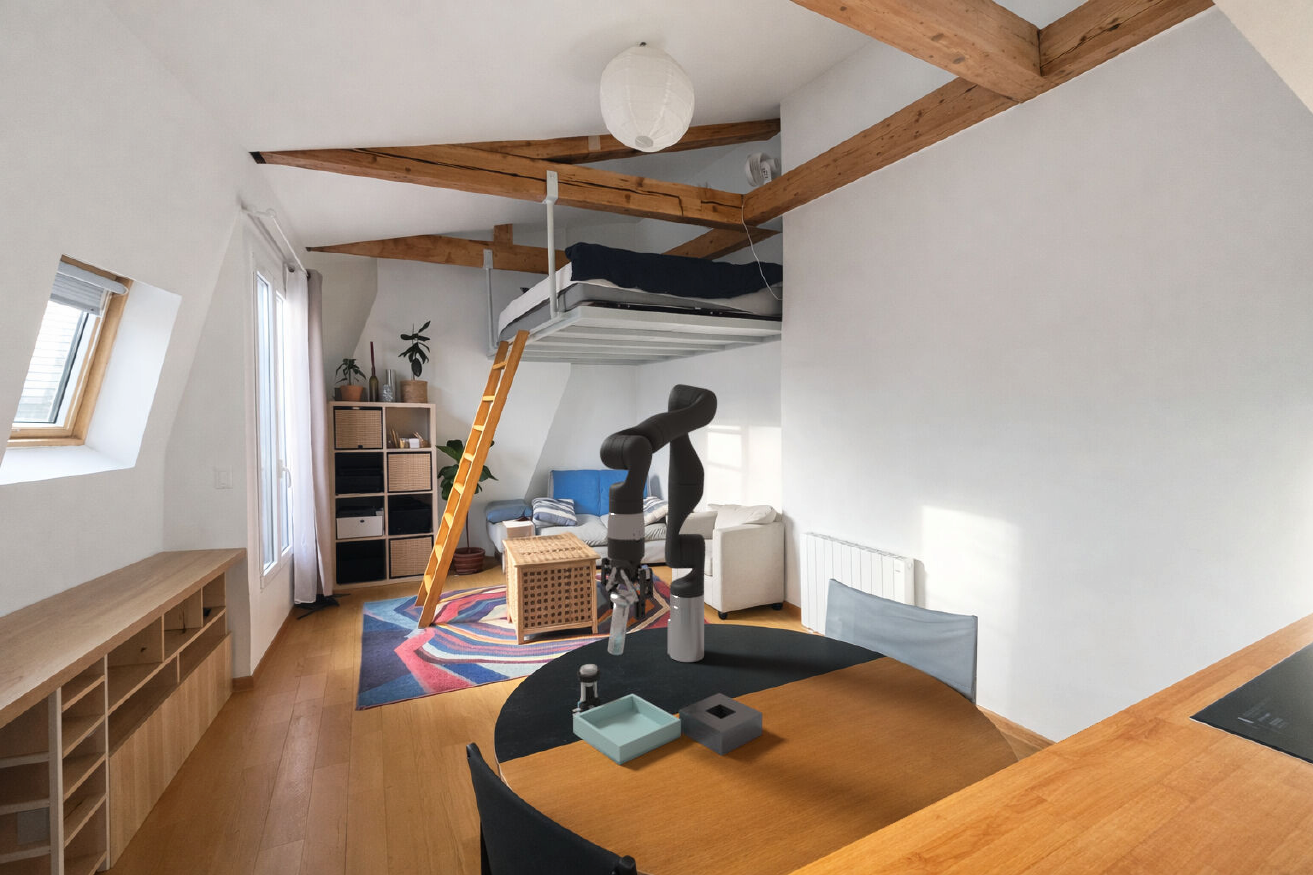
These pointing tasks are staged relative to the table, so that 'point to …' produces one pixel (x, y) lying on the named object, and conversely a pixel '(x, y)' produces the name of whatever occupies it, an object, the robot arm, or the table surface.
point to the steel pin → (619, 620)
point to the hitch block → (720, 723)
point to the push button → (588, 687)
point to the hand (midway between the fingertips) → (626, 613)
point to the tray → (626, 728)
